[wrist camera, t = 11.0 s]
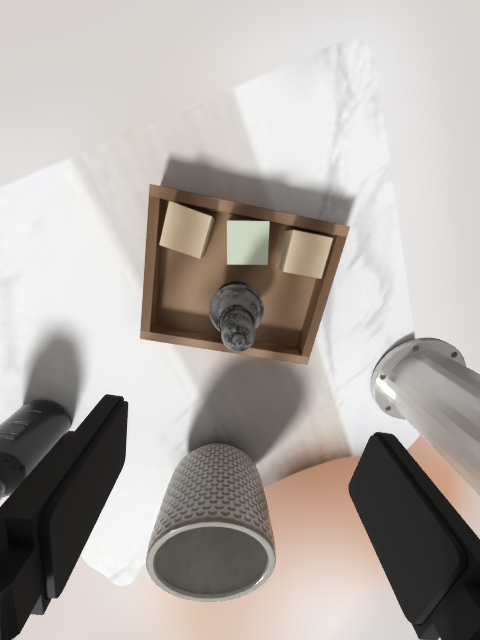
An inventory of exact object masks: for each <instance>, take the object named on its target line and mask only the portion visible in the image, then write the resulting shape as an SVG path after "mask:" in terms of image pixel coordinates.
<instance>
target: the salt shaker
mask: <svg viewBox="0 0 480 640" xmlns="http://www.w3.org/2000/svg"><path fill="white" fill-rule="evenodd" d="M263 315H264V306H263V302H262V300H261V298H260V296H259V294H258V293H257V292H256V291H254V290H253V289H252V288H251V287H250V286H249V285H247V284H246V283H244V282H239V281H232V282H229V283H226V284H224V285H223V286H221V288H220V289H219V290H218V291H217V293H216V294H215V295H214V296H213V298H212V300H211V302H210V306H209V316H210V319H211V322H212V323H213V325H214V326H215V328H216V329H218V330H219V331H220V332H221V338H222V341H223V343H224V345H225V346H226V347H227V348H228V349H230V350H232V351H235V352H242V351H245V350H247V349H249V348H250V347H251V346H252V344H253V343H254V340H255V330H256V328H257V327H258V326H259V325H260V323H261V321H262V318H263Z"/></svg>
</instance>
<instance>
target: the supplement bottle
mask: <svg viewBox="0 0 480 640" xmlns="http://www.w3.org/2000/svg"><path fill="white" fill-rule="evenodd" d="M69 428H70V417H69V415H68V413H67V412H66V411H65V410H64V409H63V408H62V407H61V406H59V405H58V404H56V403H53V402H50V401H46V400H36V401H32V402H29V403H27V404H25V405H24V406H22V407H21V408H20V409H19V410H17V411H16V412H15V413H14V414H13V415H11V416H10V417H9V418H8V419H7V420H5V421H4V422H3V423H2V424H1V425H0V500H1V498H2V497H6V496H9V495H11V494H12V493H13V492H14V491H15V489H16V488H17V487H18V486H19V485H20V484H21V483H22V481H23V480H24V479H25V478H26V477H27V476H28V475H29V473H30V472H31V471H32V470H33V469H34V468H35V467H36V465H37V464H38V463H39V462H40V461H41V460H42V459H43V457H44V456H45V455H46V454H47V453H48V452H49V451H50V449H51V448H52V447H53V446H54V445H55V444H56V443H57V441H58V440H59V439H60V438H61V437H62V436H63V435H64V434H65V433H66V432H68V431H69Z"/></svg>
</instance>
